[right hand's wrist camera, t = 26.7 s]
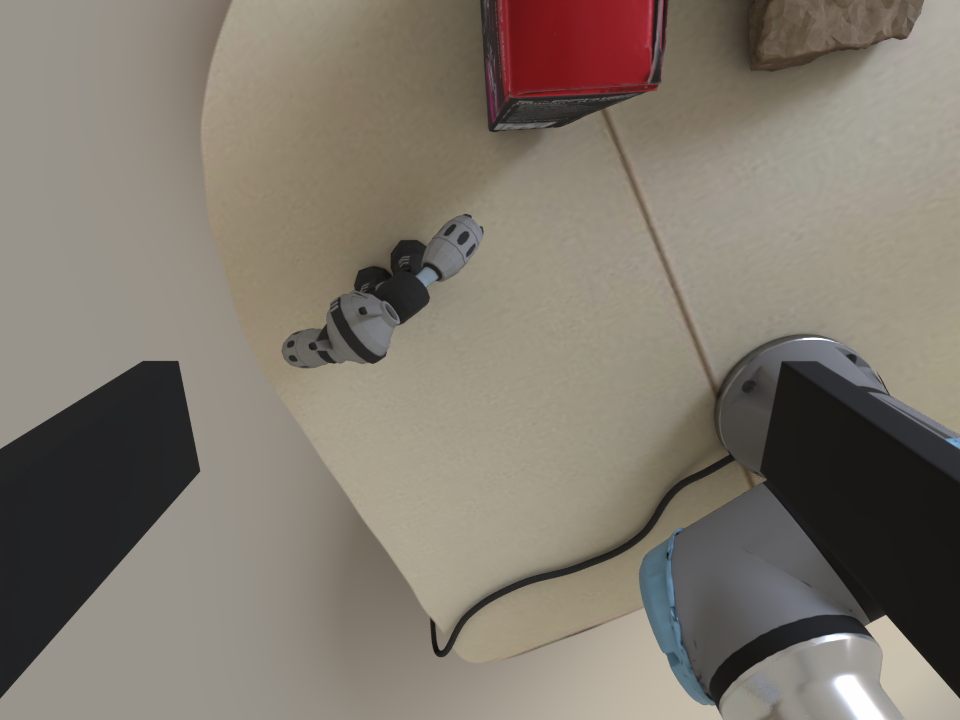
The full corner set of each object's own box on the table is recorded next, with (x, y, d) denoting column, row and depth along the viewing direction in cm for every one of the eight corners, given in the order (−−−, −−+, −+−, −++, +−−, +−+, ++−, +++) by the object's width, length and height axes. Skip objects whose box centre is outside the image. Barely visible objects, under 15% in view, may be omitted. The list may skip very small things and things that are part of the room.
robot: (331, 352, 55) (254, 456, 36) (298, 313, 53) (200, 399, 35) (496, 237, 51) (506, 286, 32) (465, 191, 50) (457, 215, 31)
